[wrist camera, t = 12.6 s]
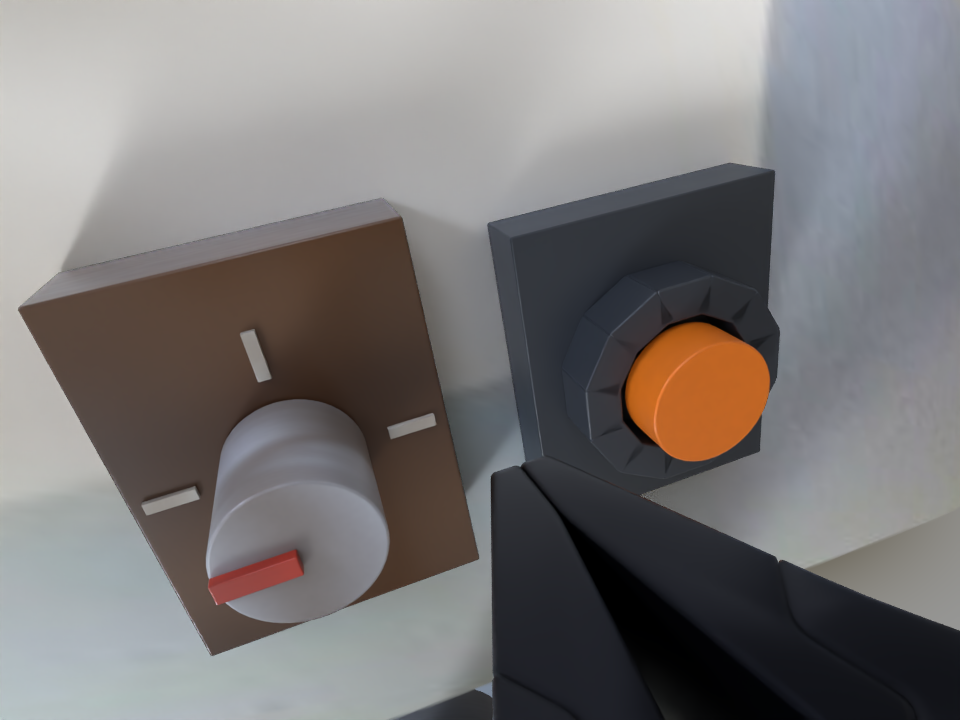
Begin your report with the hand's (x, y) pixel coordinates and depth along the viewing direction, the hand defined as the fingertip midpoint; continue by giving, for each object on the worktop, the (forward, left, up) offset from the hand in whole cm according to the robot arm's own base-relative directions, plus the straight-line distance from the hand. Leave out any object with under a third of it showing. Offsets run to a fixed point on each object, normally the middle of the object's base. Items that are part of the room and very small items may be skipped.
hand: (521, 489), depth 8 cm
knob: (-4, +4, -9) cm, 11 cm away
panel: (-4, +4, -12) cm, 13 cm away
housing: (-5, -8, -12) cm, 15 cm away
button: (-5, -8, -8) cm, 13 cm away
